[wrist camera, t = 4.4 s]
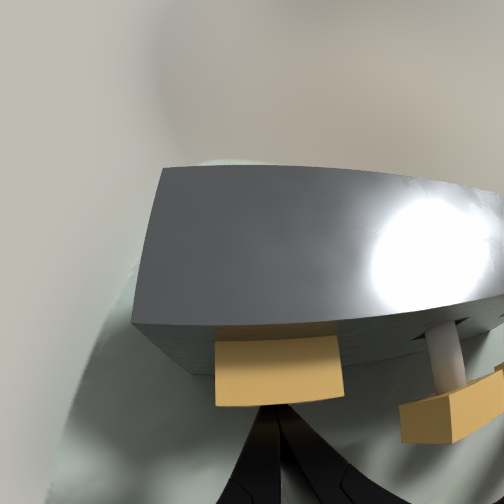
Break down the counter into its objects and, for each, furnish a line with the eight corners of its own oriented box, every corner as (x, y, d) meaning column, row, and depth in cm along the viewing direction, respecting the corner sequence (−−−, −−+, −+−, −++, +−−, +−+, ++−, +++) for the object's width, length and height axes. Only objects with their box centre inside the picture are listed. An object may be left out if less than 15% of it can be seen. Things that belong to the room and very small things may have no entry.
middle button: (456, 419, 9) (506, 409, 6) (401, 442, 9) (452, 443, 6) (433, 295, 13) (472, 260, 10) (380, 301, 13) (418, 263, 10)
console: (490, 330, 16) (567, 275, 8) (191, 374, 14) (131, 322, 7) (472, 270, 19) (534, 203, 11) (194, 282, 18) (162, 168, 10)
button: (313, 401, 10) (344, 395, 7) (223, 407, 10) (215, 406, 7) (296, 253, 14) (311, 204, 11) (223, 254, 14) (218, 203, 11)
